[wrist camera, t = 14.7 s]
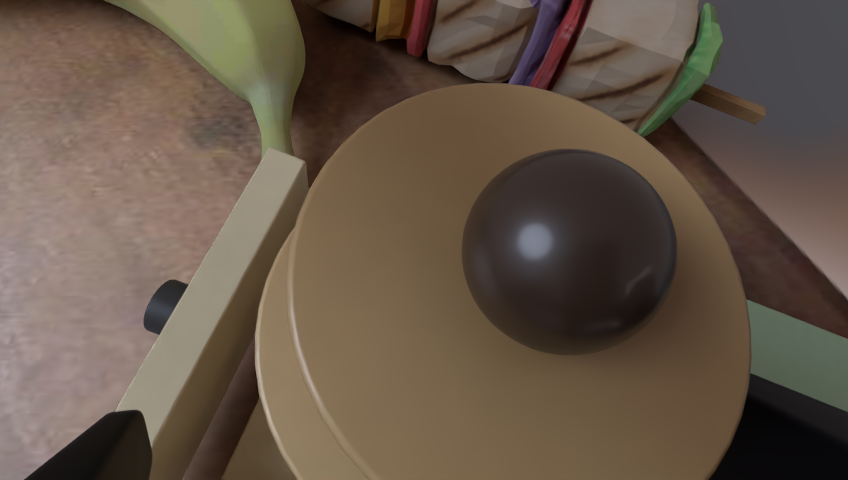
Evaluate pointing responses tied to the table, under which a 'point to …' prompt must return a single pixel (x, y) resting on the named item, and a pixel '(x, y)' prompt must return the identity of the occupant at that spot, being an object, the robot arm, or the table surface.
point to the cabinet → (799, 355)
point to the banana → (239, 52)
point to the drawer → (217, 331)
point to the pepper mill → (502, 302)
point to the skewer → (567, 49)
